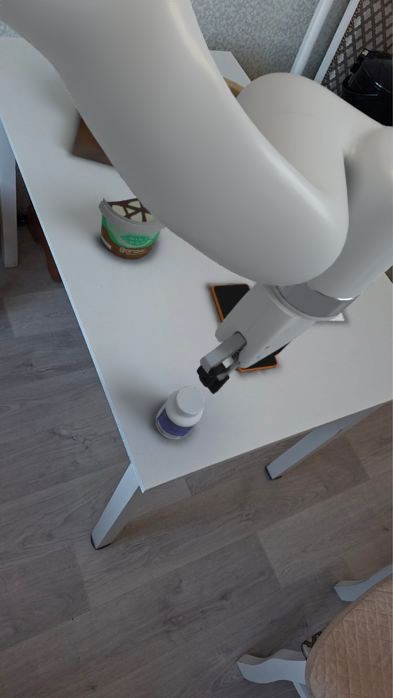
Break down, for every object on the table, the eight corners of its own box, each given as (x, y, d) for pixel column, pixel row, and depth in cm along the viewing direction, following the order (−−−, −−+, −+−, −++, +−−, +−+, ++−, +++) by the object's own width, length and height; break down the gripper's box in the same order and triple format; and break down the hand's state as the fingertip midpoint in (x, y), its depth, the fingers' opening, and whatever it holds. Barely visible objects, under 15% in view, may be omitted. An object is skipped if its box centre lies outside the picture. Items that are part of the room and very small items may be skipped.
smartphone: (238, 373, 77) (240, 371, 76) (209, 287, 83) (210, 285, 83) (278, 367, 80) (280, 365, 79) (247, 285, 86) (248, 282, 86)
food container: (103, 269, 78) (113, 229, 70) (91, 240, 80) (100, 197, 72) (170, 260, 84) (187, 221, 75) (158, 232, 86) (173, 191, 78)
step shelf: (72, 155, 88) (77, 118, 81) (85, 101, 96) (90, 63, 89) (126, 170, 91) (134, 134, 84) (134, 116, 99) (142, 80, 92)
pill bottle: (187, 443, 69) (207, 423, 61) (152, 435, 68) (168, 414, 60) (192, 410, 72) (211, 386, 64) (158, 401, 70) (174, 377, 63)
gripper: (349, 213, 45) (269, 309, 59) (213, 274, 36) (159, 369, 51) (402, 273, 43) (307, 357, 58) (273, 352, 35) (199, 427, 49)
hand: (238, 362), depth 54 cm, fingers open, 9 cm apart
